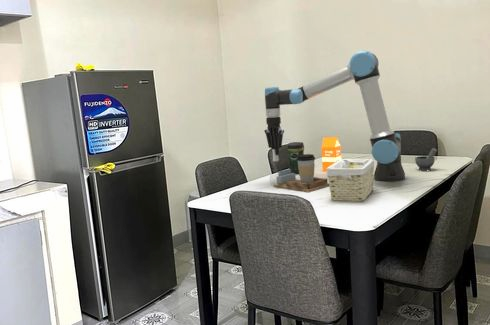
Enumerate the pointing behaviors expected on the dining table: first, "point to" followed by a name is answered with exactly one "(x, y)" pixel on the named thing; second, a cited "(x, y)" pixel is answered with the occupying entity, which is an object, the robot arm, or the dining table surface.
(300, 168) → the coffee cup
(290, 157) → the coffee jar
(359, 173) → the storage basket
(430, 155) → the mortar and pestle
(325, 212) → the dining table surface
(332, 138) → the orange juice
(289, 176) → the block
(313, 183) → the housing base
